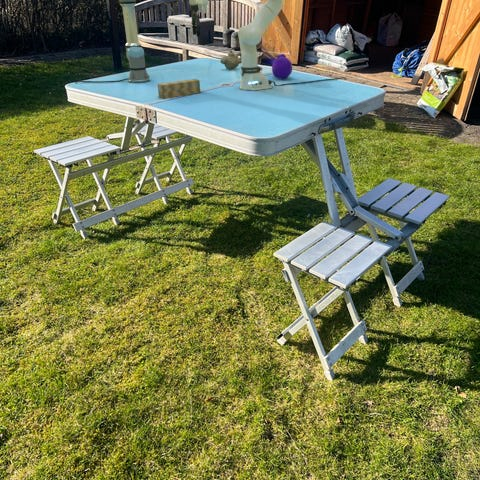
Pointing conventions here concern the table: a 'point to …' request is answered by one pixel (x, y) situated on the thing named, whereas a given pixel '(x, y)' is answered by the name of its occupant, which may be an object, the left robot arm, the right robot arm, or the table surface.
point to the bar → (178, 88)
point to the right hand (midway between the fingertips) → (202, 12)
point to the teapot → (231, 60)
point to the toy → (280, 66)
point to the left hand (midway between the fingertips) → (196, 35)
